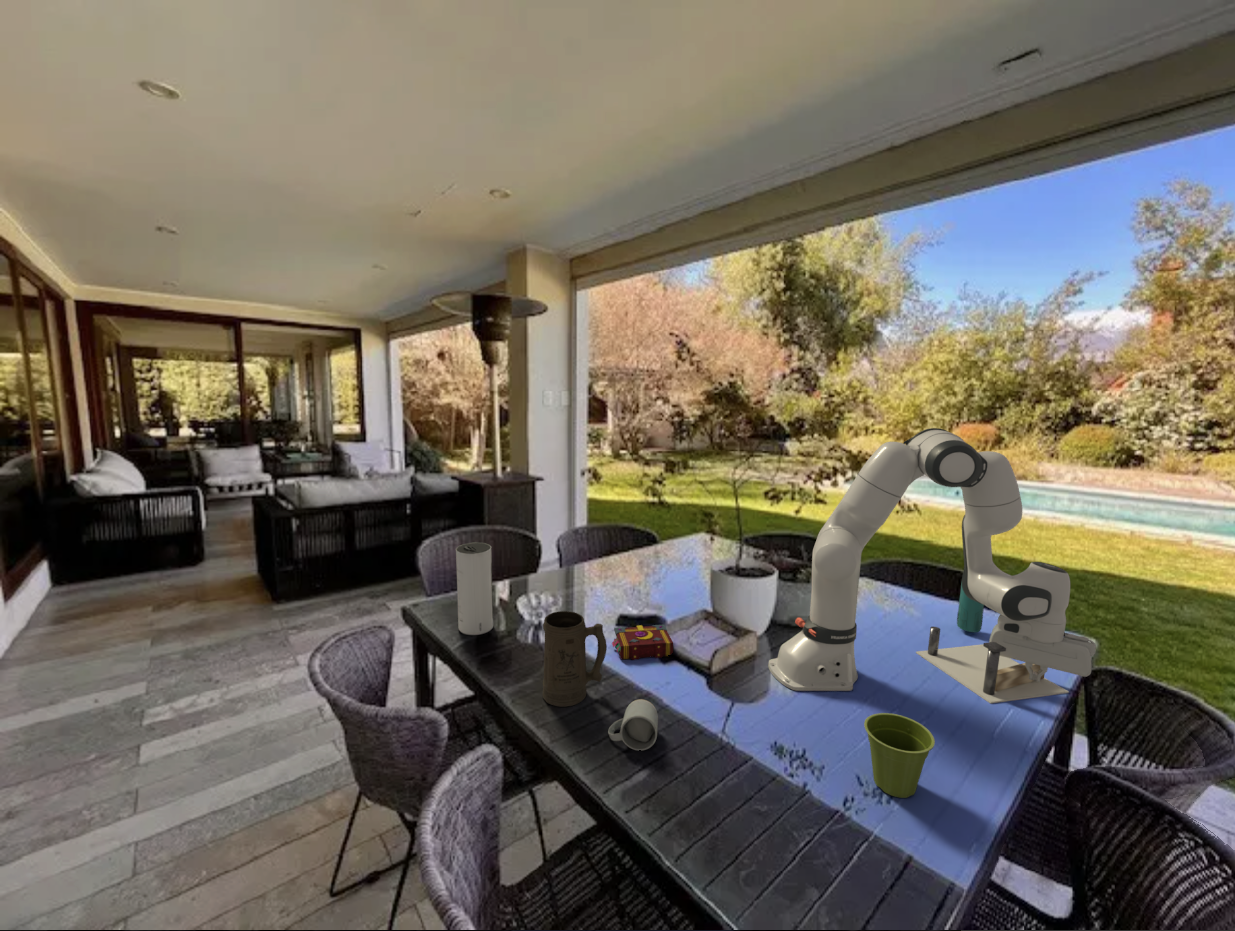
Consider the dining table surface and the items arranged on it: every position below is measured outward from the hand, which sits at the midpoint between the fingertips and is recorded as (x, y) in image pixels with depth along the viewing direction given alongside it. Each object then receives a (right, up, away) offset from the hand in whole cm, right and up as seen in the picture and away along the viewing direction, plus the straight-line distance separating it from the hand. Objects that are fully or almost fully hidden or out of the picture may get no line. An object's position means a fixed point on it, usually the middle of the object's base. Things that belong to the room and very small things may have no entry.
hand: (1034, 679), depth 137 cm
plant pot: (-51, -8, -32) cm, 61 cm away
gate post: (-12, -3, -2) cm, 13 cm away
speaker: (-147, +3, +31) cm, 150 cm away
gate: (-3, -2, +2) cm, 4 cm away
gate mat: (-6, -1, +9) cm, 11 cm away
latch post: (-16, 0, +17) cm, 23 cm away
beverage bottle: (+3, +2, +31) cm, 31 cm away
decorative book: (-97, +1, +19) cm, 99 cm away
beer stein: (-114, -2, -2) cm, 114 cm away
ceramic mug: (-100, -5, -19) cm, 102 cm away
